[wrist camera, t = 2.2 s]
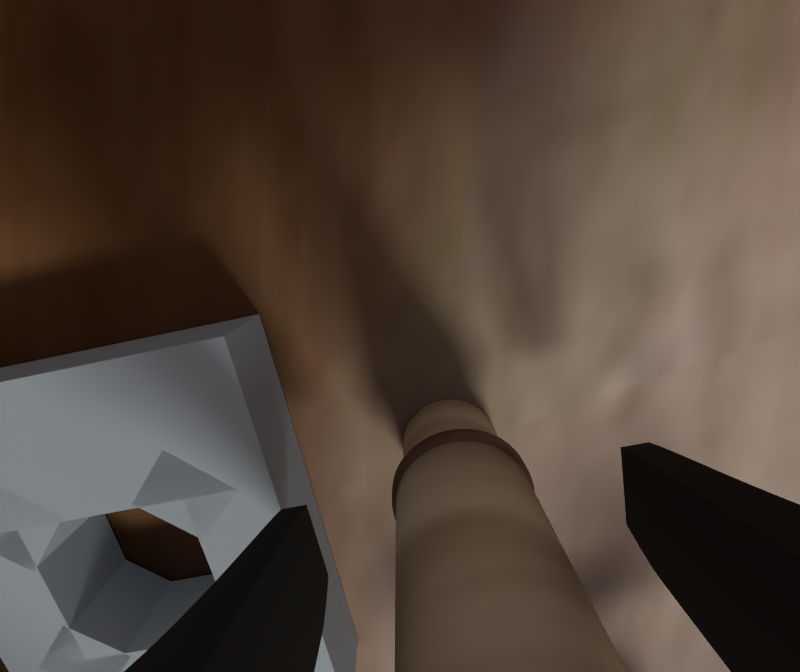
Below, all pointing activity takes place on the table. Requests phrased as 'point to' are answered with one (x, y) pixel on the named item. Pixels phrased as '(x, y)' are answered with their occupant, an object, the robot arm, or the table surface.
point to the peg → (482, 559)
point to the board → (141, 490)
